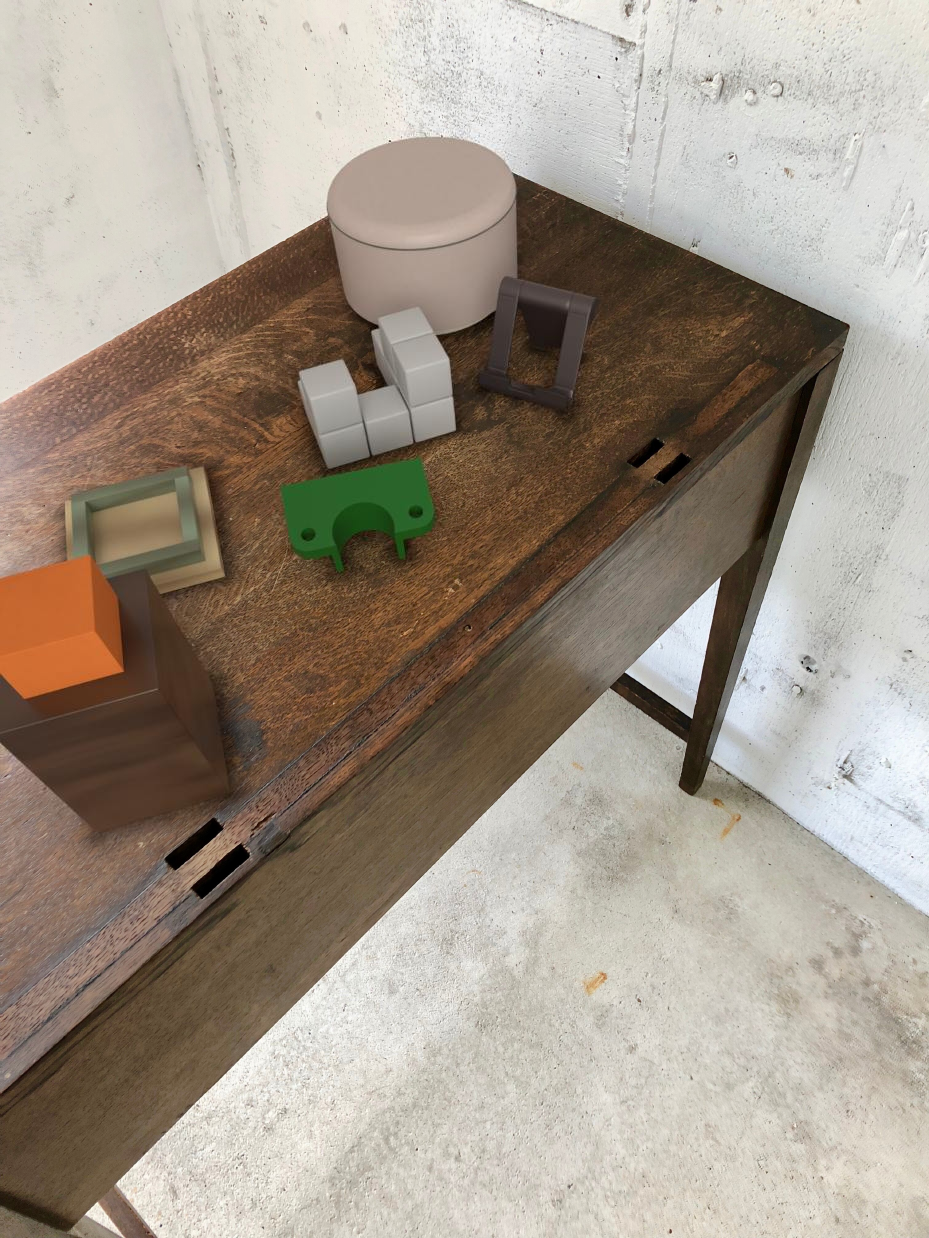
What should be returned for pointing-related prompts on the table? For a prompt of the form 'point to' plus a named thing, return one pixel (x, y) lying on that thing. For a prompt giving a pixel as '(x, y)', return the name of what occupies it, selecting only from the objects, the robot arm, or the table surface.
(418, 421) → the gray cube puzzle piece
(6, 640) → the orange square block
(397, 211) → the container
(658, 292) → the table surface
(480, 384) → the tablet stand
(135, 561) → the square tray
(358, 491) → the clamp
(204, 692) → the stand
